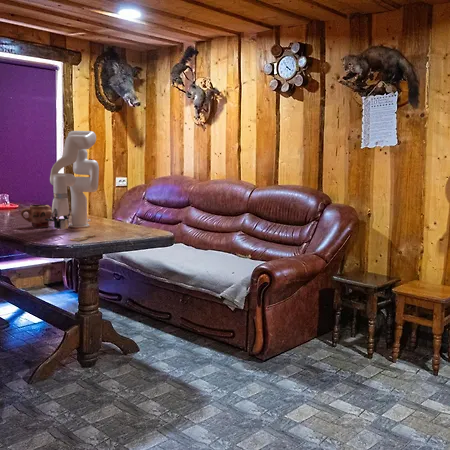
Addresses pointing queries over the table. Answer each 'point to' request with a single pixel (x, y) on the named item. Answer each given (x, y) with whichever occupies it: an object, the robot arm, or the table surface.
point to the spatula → (82, 238)
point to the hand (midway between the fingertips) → (61, 226)
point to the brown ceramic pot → (38, 215)
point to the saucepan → (61, 223)
